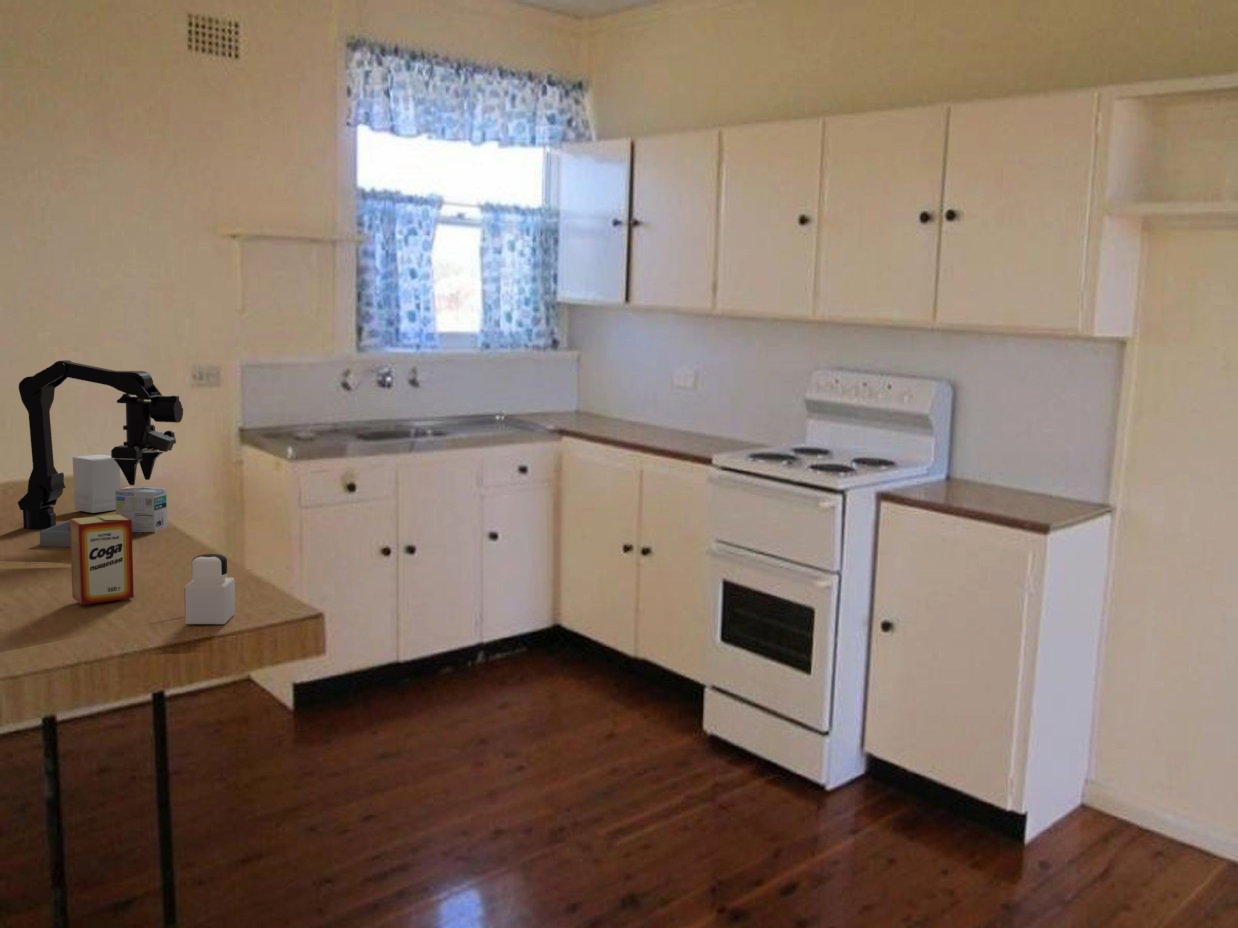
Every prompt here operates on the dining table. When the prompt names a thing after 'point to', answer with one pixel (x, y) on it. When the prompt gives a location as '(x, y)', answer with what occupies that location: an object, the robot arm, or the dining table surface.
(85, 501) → the supplement box
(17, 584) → the dining table surface
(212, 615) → the medicine bottle
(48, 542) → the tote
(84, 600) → the baking soda box
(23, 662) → the dining table surface
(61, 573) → the dining table surface
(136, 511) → the light bulb box
